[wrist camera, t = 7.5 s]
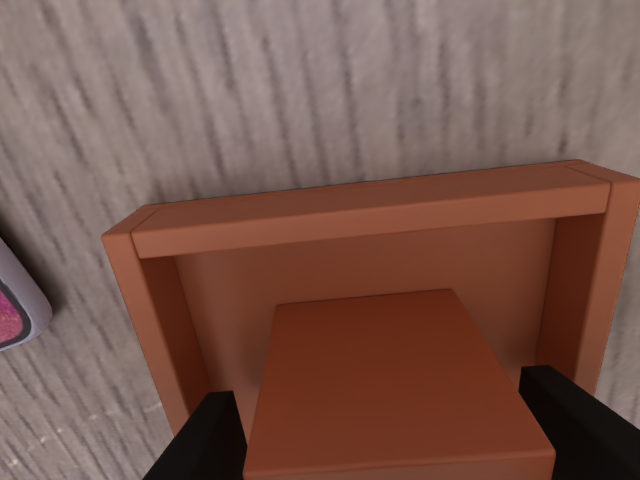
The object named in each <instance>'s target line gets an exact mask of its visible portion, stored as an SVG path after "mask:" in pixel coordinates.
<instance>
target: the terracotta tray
mask: <svg viewBox="0 0 640 480" xmlns="http://www.w3.org/2000/svg"><path fill="white" fill-rule="evenodd" d="M639 204H640V178H636V177H633V176H630V175H627V174H623V173H620V172H617V171H614V170H610V169H607V168H604V167H600V166H597V165H594V164H590V163H589V162H586V161H582V160H570V161H561V162H551V163H542V164H532V165H523V166H513V167H504V168H494V169H485V170H475V171H466V172H456V173H447V174H437V175H428V176H419V177H409V178H400V179H390V180H381V181H371V182H362V183H352V184H343V185H333V186H324V187H314V188H305V189H295V190H286V191H276V192H267V193H257V194H248V195H239V196H229V197H220V198H210V199H201V200H191V201H182V202H172V203H163V204H153V205H144V206H142V207H140V208H139V209H137V210H136V211H135V212H134V213H132V214H131V215H129V216H128V217H127V218H125V219H124V220H122V221H121V222H120V223H118V224H117V225H115V226H114V227H112V228H111V229H110V230H108V231H107V232H105V233H104V234H102V236H101V239H102V242H103V244H104V247H105V250H106V253H107V255H108V258H109V261H110V263H111V266H112V269H113V272H114V274H115V277H116V280H117V282H118V285H119V288H120V291H121V293H122V296H123V299H124V301H125V304H126V307H127V310H128V312H129V315H130V318H131V320H132V323H133V326H134V329H135V331H136V334H137V337H138V339H139V342H140V345H141V348H142V350H143V353H144V356H145V359H146V361H147V364H148V367H149V369H150V372H151V375H152V378H153V380H154V383H155V386H156V388H157V391H158V394H159V397H160V399H161V402H162V405H163V407H164V410H165V413H166V416H167V418H168V421H169V424H170V426H171V429H172V432H173V435H174V437H175V436H176V435H177V433H178V432H179V431H180V429H181V428H182V426H183V425H184V424H185V422H186V421H187V420H188V418H189V417H190V416H191V414H192V413H193V411H194V410H195V409H196V407H197V406H198V405H199V403H200V402H201V401H202V399H203V398H204V397H205V395H206V394H207V393H208V392H219V391H231V390H233V392H234V396H235V400H236V403H237V407H238V411H239V415H240V419H241V422H242V426H243V430H244V434H245V438H246V441H247V445H248V443H249V438H250V433H251V428H252V423H253V419H254V414H255V409H256V404H257V399H258V394H259V389H260V384H261V379H262V374H263V369H264V364H265V359H266V354H267V349H268V344H269V339H270V334H271V329H272V324H273V319H274V314H275V309H276V306H277V305H281V304H292V303H303V302H314V301H325V300H336V299H347V298H358V297H368V296H379V295H390V294H401V293H412V292H423V291H434V290H445V289H453V290H454V291H455V293H456V294H457V296H458V298H459V299H460V301H461V302H462V304H463V305H464V307H465V309H466V310H467V312H468V313H469V315H470V316H471V318H472V320H473V321H474V323H475V324H476V326H477V328H478V329H479V331H480V332H481V334H482V335H483V337H484V339H485V340H486V342H487V343H488V345H489V346H490V348H491V350H492V351H493V353H494V354H495V356H496V358H497V359H498V361H499V362H500V364H501V365H502V367H503V369H504V370H505V372H506V373H507V375H508V376H509V378H510V380H511V381H512V383H513V384H514V386H515V388H516V389H517V391H518V389H519V381H520V374H521V367H524V366H536V365H548V364H549V365H550V366H551V367H553V368H554V369H556V370H557V371H559V372H560V373H561V374H563V375H564V376H566V377H567V378H568V379H570V380H571V381H573V382H574V383H575V384H577V385H578V386H579V387H581V388H582V389H584V390H585V391H586V392H588V393H589V394H590V395H592V396H593V397H594V394H595V389H596V385H597V381H598V377H599V373H600V368H601V364H602V360H603V356H604V352H605V347H606V343H607V339H608V335H609V331H610V326H611V322H612V318H613V314H614V310H615V305H616V301H617V297H618V293H619V288H620V284H621V280H622V276H623V272H624V267H625V263H626V259H627V255H628V251H629V246H630V242H631V238H632V234H633V230H634V225H635V221H636V217H637V213H638V208H639Z"/></svg>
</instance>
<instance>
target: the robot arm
mask: <svg viewBox="0 0 640 480" xmlns="http://www.w3.org/2000/svg"><path fill="white" fill-rule="evenodd" d="M518 392H519V394H520V395H521V397H522V399H523V400H524V402H525V403H526V405H527V406H528V408H529V410H530V411H531V413H532V414H533V416H534V417H535V419H536V421H537V422H538V424H539V425H540V427H541V429H542V430H543V432H544V433H545V435H546V436H547V438H548V440H549V441H550V443H551V444H552V446H553V447H554V449H555V452H556V458H555V463H554V468H553V473H552V478H551V480H640V430H639V429H638V428H636V427H635V426H633V425H632V424H631V423H629V422H628V421H626V420H625V419H624V418H622V417H621V416H619V415H618V414H617V413H615V412H614V411H612V410H611V409H610V408H608V407H607V406H606V405H604V404H603V403H601V402H600V401H599V400H597V399H596V398H595V397H593V396H592V395H590V394H589V393H588V392H586V391H585V390H584V389H582V388H581V387H579V386H578V385H577V384H575V383H574V382H573V381H571V380H570V379H568V378H567V377H566V376H564V375H563V374H561V373H560V372H559V371H557V370H556V369H554V368H553V367H551V366H550V365H549V364H548V365H536V366H524V367H521V374H520V381H519V389H518ZM247 448H248V445H247V441H246V438H245V434H244V430H243V426H242V422H241V419H240V415H239V411H238V407H237V403H236V400H235V396H234V392H233V390H231V391H219V392H208V393H207V394H206V395H205V397H204V398H203V399H202V401H201V402H200V403H199V405H198V406H197V407H196V409H195V410H194V411H193V413H192V414H191V416H190V417H189V418H188V420H187V421H186V422H185V424H184V425H183V426H182V428H181V429H180V431H179V432H178V433H177V435H176V436H175V437H174V439H173V440H172V441H171V443H170V444H169V445H168V447H167V448H166V449H165V451H164V452H163V453H162V454H161V456H160V457H159V458H158V460H157V461H156V462H155V464H154V465H153V466H152V467H151V469H150V470H149V471H148V473H147V474H146V475H145V476H144V478H143V479H142V480H244V478H243V474H242V473H243V468H244V463H245V458H246V453H247Z"/></svg>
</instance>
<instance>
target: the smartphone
mask: <svg viewBox="0 0 640 480" xmlns="http://www.w3.org/2000/svg"><path fill="white" fill-rule="evenodd" d="M51 319H52V309H51V306H50V303H49V302H48V300H47V298H46V296H45V295H44V293H43V292H42V291H41V289H40V288H39V287H38V285H37V284H36V283H35V281H34V280H33V279H32V277H31V276H30V275H29V273H28V272H27V271H26V269H25V268H24V267H23V265H22V264H21V263H20V261H19V260H18V259H17V257H16V256H15V255H14V254H13V252H12V251H11V250H10V248H9V247H8V246H7V245H6V244H5V243H4V241H3V240H2V239H1V238H0V351H3V350H6V349H8V348H11V347H14V346H17V345H19V344H22V343H25V342H27V341H30V340H32V339H33V338H35V337H37V336H38V335H40V334H41V333H42V332H43V331H44V330H45V329H46V328H47V326H48V325H49V323H50V321H51Z"/></svg>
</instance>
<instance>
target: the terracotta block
mask: <svg viewBox="0 0 640 480" xmlns="http://www.w3.org/2000/svg"><path fill="white" fill-rule="evenodd" d="M555 458H556V452H555V449H554V447H553V446H552V444H551V443H550V441H549V440H548V438H547V436H546V435H545V433H544V432H543V430H542V429H541V427H540V425H539V424H538V422H537V421H536V419H535V417H534V416H533V414H532V413H531V411H530V410H529V408H528V406H527V405H526V403H525V402H524V400H523V399H522V397H521V395H520V394H519V392H518V391H517V389H516V388H515V386H514V384H513V383H512V381H511V380H510V378H509V376H508V375H507V373H506V372H505V370H504V369H503V367H502V365H501V364H500V362H499V361H498V359H497V358H496V356H495V354H494V353H493V351H492V350H491V348H490V346H489V345H488V343H487V342H486V340H485V339H484V337H483V335H482V334H481V332H480V331H479V329H478V328H477V326H476V324H475V323H474V321H473V320H472V318H471V316H470V315H469V313H468V312H467V310H466V309H465V307H464V305H463V304H462V302H461V301H460V299H459V298H458V296H457V294H456V293H455V291H454V290H453V289H445V290H434V291H423V292H412V293H401V294H390V295H379V296H368V297H358V298H347V299H336V300H325V301H314V302H303V303H292V304H281V305H277V306H276V309H275V314H274V319H273V324H272V329H271V334H270V339H269V344H268V349H267V354H266V359H265V364H264V369H263V374H262V379H261V384H260V389H259V394H258V399H257V404H256V409H255V414H254V419H253V423H252V428H251V433H250V438H249V443H248V448H247V453H246V458H245V463H244V468H243V473H242V474H243V478H244V480H551V478H552V473H553V468H554V463H555Z"/></svg>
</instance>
